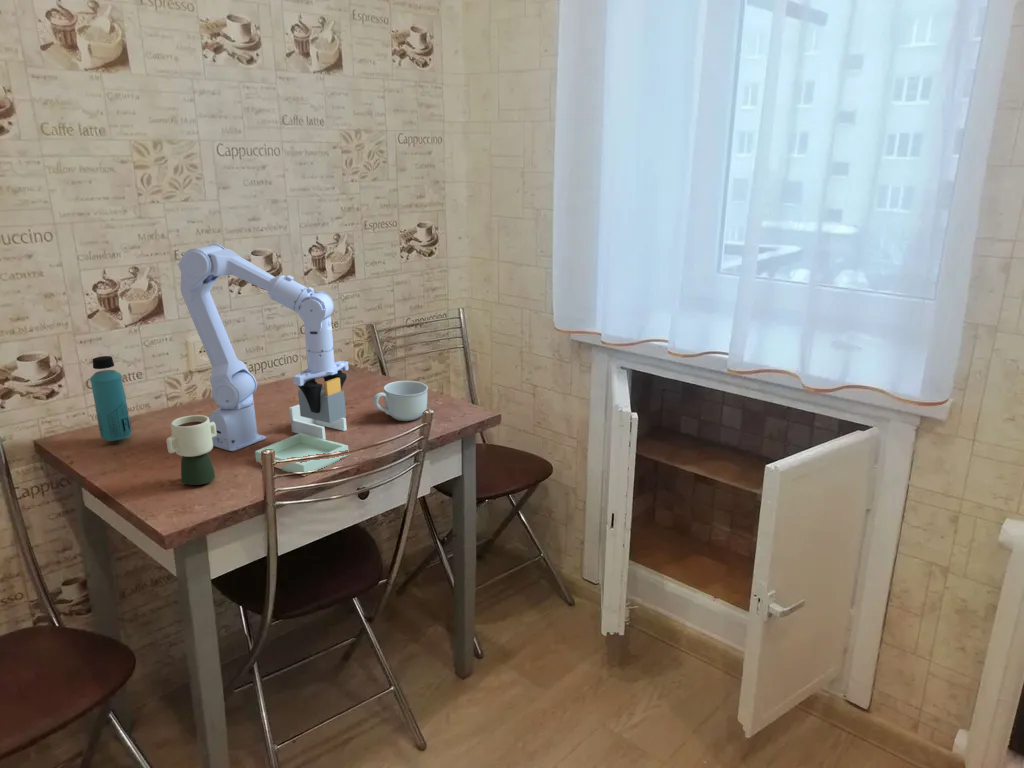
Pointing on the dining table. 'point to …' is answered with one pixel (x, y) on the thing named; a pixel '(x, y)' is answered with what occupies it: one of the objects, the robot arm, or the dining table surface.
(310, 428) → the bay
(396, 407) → the teacup
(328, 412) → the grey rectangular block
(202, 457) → the character mug
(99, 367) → the beverage bottle
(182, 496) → the dining table surface
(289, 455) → the tray
